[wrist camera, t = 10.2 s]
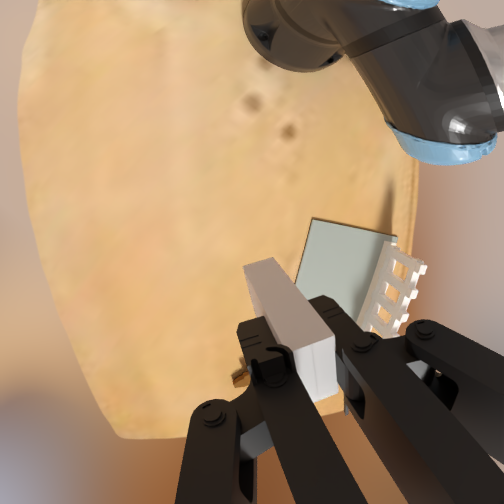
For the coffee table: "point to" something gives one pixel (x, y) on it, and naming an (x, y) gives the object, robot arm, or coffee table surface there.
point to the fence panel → (402, 286)
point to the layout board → (342, 265)
